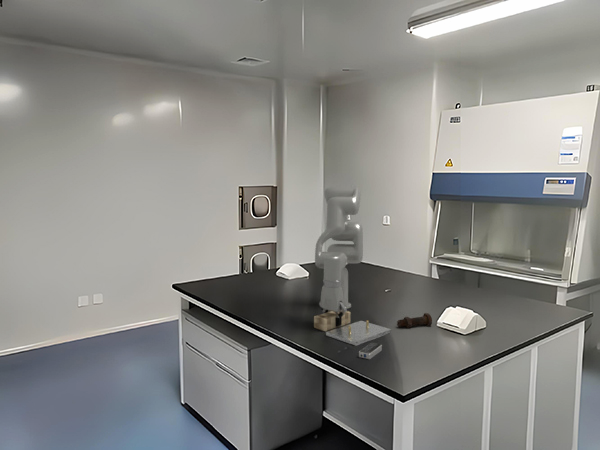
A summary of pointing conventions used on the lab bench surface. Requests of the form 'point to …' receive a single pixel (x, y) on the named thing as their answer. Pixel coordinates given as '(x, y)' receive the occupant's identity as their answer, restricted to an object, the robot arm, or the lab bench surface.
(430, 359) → the lab bench surface
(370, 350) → the multiport hub
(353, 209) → the robot arm
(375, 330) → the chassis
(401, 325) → the bolt
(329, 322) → the tan rectangular block
